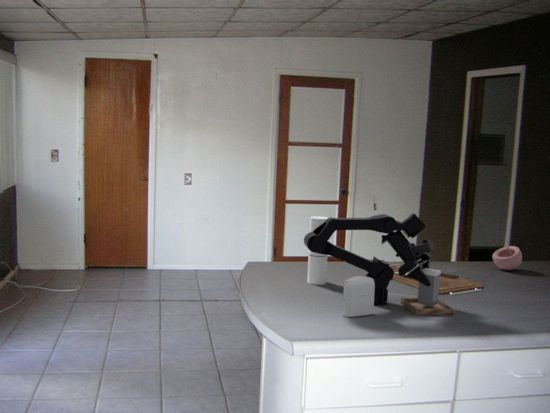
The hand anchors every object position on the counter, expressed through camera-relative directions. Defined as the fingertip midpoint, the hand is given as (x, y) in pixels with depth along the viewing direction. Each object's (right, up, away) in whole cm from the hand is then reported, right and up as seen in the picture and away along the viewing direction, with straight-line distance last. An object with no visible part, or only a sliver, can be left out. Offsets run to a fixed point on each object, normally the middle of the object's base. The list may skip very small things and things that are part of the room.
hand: (432, 284), depth 183 cm
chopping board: (+8, -4, +43) cm, 44 cm away
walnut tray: (-1, -8, +2) cm, 9 cm away
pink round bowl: (+51, -3, +64) cm, 81 cm away
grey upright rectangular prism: (-1, -6, +1) cm, 7 cm away
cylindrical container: (-36, -4, +31) cm, 47 cm away
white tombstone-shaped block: (-25, -9, -7) cm, 28 cm away
